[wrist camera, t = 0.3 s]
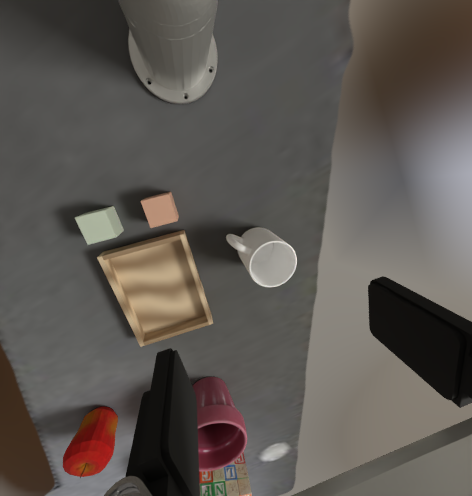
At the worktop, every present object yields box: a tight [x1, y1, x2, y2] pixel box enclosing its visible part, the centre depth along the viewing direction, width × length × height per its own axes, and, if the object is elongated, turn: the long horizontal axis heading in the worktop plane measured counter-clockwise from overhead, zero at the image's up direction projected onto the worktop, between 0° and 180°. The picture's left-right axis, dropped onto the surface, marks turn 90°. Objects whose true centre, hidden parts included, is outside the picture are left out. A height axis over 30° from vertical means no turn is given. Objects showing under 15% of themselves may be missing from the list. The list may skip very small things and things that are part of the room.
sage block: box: [75, 206, 124, 245], centre depth 37 cm, size 4×4×4 cm
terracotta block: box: [141, 192, 179, 228], centre depth 39 cm, size 4×4×4 cm
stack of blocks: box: [199, 453, 252, 496], centre depth 57 cm, size 21×6×12 cm, turn 75°
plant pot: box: [193, 377, 247, 472], centre depth 51 cm, size 14×14×13 cm
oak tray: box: [97, 230, 213, 346], centre depth 44 cm, size 20×15×3 cm
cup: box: [226, 227, 297, 287], centre depth 41 cm, size 8×12×10 cm
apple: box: [63, 407, 118, 478], centre depth 47 cm, size 9×8×12 cm
